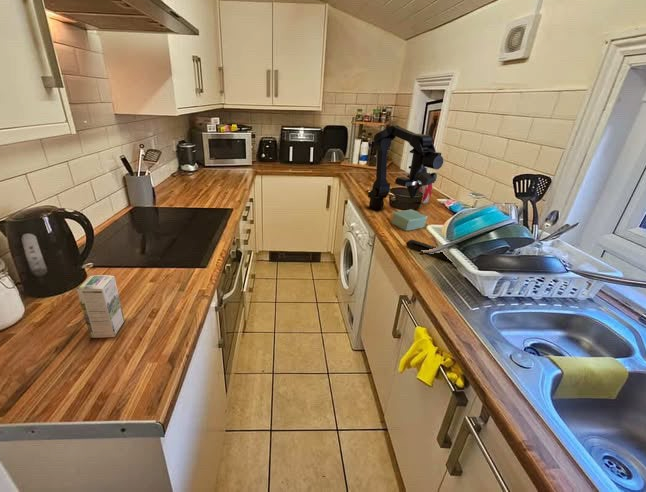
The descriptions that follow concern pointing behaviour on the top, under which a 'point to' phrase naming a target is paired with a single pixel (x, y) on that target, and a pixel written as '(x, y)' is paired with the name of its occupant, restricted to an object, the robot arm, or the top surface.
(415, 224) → the keepsake box
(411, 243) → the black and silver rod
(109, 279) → the syrup box
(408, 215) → the lid
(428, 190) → the soda can
